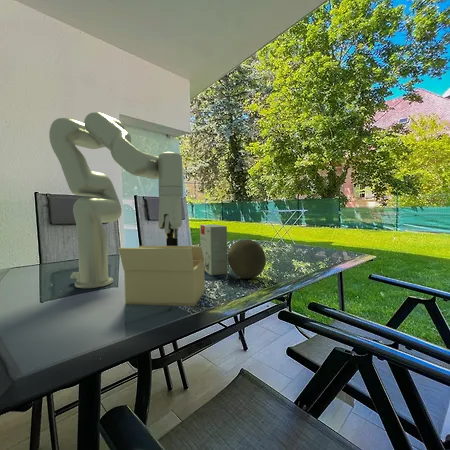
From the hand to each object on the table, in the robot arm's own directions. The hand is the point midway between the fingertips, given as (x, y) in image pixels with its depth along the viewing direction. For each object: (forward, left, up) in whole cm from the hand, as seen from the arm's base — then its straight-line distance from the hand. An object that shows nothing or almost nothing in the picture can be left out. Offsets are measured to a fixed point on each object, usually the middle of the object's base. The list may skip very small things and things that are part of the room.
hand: (172, 250), depth 87 cm
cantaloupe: (+23, +18, -14) cm, 33 cm away
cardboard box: (0, -5, -14) cm, 14 cm away
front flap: (0, -13, 0) cm, 13 cm away
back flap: (0, 0, -1) cm, 1 cm away
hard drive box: (+8, +31, -14) cm, 35 cm away
